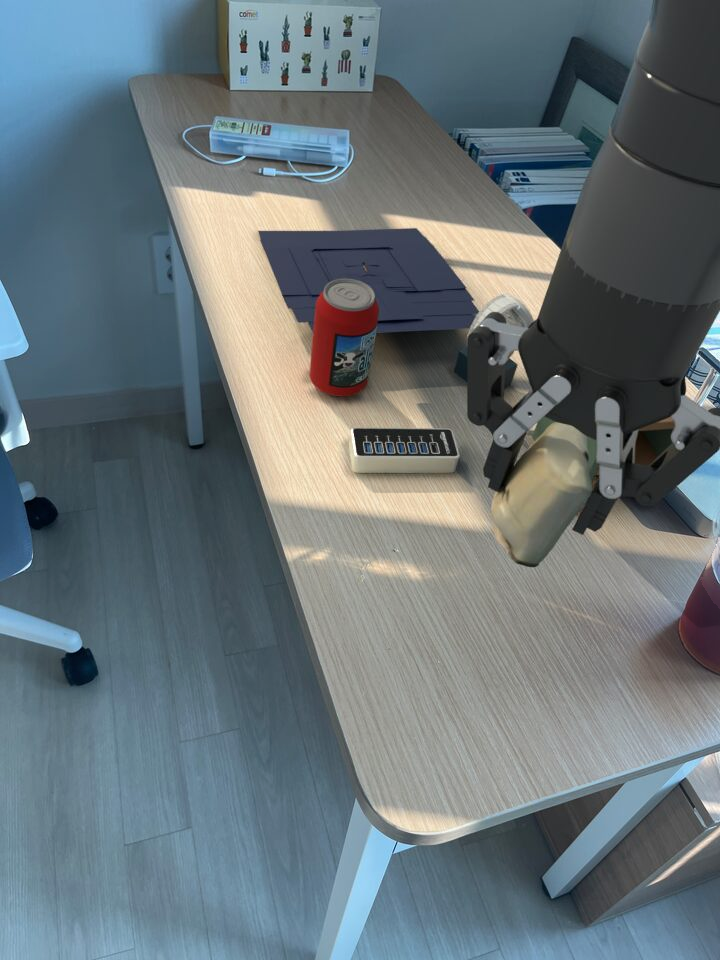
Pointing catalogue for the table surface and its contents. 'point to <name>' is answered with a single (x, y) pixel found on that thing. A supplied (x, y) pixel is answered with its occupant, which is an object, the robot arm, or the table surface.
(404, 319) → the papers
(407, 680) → the table surface
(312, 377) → the beverage can
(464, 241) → the table surface
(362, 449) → the multiport hub
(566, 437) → the beige rounded block
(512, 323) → the watch
